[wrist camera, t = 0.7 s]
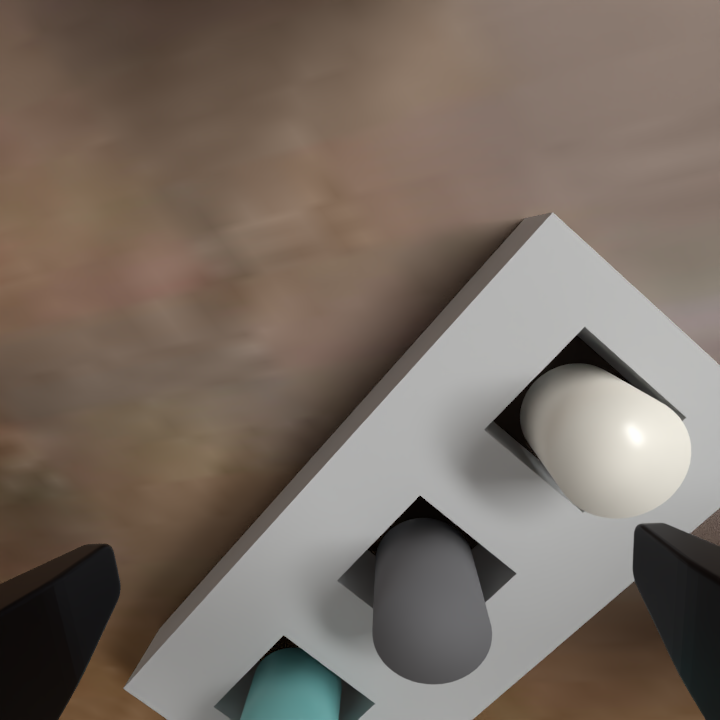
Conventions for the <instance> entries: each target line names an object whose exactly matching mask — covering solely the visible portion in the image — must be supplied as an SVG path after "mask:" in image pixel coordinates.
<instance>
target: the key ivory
mask: <svg viewBox="0 0 720 720" xmlns="http://www.w3.org/2000/svg"><path fill="white" fill-rule="evenodd" d="M520 424H521V429H522V432H523V435H524V437H525V439H526V440H527V442H528V444H529V445H530V446H531V448H532V449H533V451H534V452H535V453H536V455H537V456H538V458H539V459H540V461H541V462H542V463H543V465H544V466H545V468H546V469H547V471H548V472H549V473H550V475H551V476H552V478H553V479H554V480H555V482H556V483H557V485H558V486H559V488H560V489H561V490H562V492H563V493H564V494H565V496H566V497H567V498H568V499H569V500H570V501H571V502H572V503H573V504H574V505H576V506H577V507H578V508H580V509H582V510H584V511H585V512H587V513H590V514H593V515H595V516H599V517H604V518H618V519H620V518H629V517H634V516H638V515H641V514H644V513H647V512H649V511H651V510H653V509H655V508H656V507H658V506H660V505H661V504H663V503H664V502H665V501H667V500H668V499H669V498H670V497H671V496H672V495H673V494H674V493H675V492H676V490H677V489H678V488H679V487H680V485H681V484H682V482H683V480H684V479H685V476H686V474H687V472H688V469H689V465H690V460H691V442H690V437H689V434H688V431H687V429H686V427H685V425H684V423H683V422H682V420H681V419H680V417H679V416H678V415H677V414H676V413H675V412H674V411H673V410H672V409H670V408H669V407H668V406H666V405H665V404H663V403H661V402H660V401H658V400H656V399H654V398H653V397H651V396H649V395H647V394H646V393H644V392H642V391H640V390H639V389H637V388H635V387H633V386H632V385H630V384H628V383H626V382H625V381H623V380H621V379H619V378H618V377H616V376H614V375H612V374H611V373H609V372H607V371H605V370H604V369H602V368H599V367H597V366H594V365H590V364H583V363H573V364H566V365H562V366H559V367H556V368H554V369H552V370H550V371H548V372H546V373H545V374H543V375H542V376H540V377H539V378H538V379H537V380H536V381H535V382H534V383H533V384H532V385H531V387H530V388H529V390H528V391H527V393H526V395H525V397H524V399H523V402H522V405H521V410H520Z"/></svg>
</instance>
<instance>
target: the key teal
mask: <svg viewBox="0 0 720 720" xmlns="http://www.w3.org/2000/svg"><path fill="white" fill-rule="evenodd" d="M341 693H342V683H341V679H340V677H339V676H338V675H336V674H335V673H334V672H332V671H331V670H329V669H328V668H327V667H325V666H324V665H323V664H321V663H320V662H319V661H317V660H316V659H315V658H313V657H312V656H311V655H309V654H308V653H307V652H305V651H304V650H303V649H301V648H285V649H280V650H277V651H275V652H273V653H271V654H269V655H268V656H266V657H265V658H264V659H263V660H262V661H261V662H260V663H259V665H258V667H257V669H256V671H255V674H254V677H253V680H252V684H251V687H250V690H249V693H248V696H247V699H246V702H245V706H244V709H243V712H242V715H241V718H240V720H339V711H340V702H341Z"/></svg>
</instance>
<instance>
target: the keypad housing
mask: <svg viewBox="0 0 720 720" xmlns="http://www.w3.org/2000/svg"><path fill="white" fill-rule="evenodd" d="M576 335H577V336H578V337H579V338H581V339H582V340H583V341H584V342H585V343H586V344H587V345H588V346H590V347H591V348H592V349H593V350H594V351H595V352H596V353H597V354H599V355H600V356H601V357H602V358H603V359H604V360H605V361H606V362H608V363H609V364H610V365H611V366H612V367H613V368H614V369H615V370H617V371H618V372H619V373H620V374H621V375H622V376H623V377H624V378H626V379H627V380H628V381H629V382H630V383H631V384H632V385H633V386H635V387H636V388H637V389H639V390H640V391H642V392H644V393H646V394H647V395H649V396H651V397H653V398H654V399H656V400H658V401H660V402H661V403H663V404H665V405H666V406H668V407H669V408H670V409H672V410H673V411H674V412H675V413H676V414H677V415H678V416H679V417H680V419H681V420H682V422H683V423H684V425H685V427H686V429H687V431H688V434H689V437H690V442H691V460H690V465H689V469H688V472H687V474H686V476H685V479H684V480H683V482H682V484H681V485H680V487H679V488H678V489H677V490H676V492H675V493H674V494H673V495H672V496H671V497H670V498H669V499H668V500H667V501H665V502H664V503H663V504H661V505H660V506H658V507H656V508H655V509H653V510H651V511H649V512H647V513H644V514H641V515H638V516H634V517H629V518H620V519H618V518H604V517H599V516H595V515H593V514H590V513H587V512H585V511H584V510H582V509H580V508H578V507H577V506H576V505H574V504H573V503H572V502H571V501H570V500H569V499H568V498H567V497H566V496H565V494H564V493H563V492H562V490H561V489H560V488H559V486H558V485H557V483H556V482H555V480H554V479H553V478H552V476H551V475H550V473H549V472H548V471H547V469H546V468H545V466H544V465H543V463H542V462H541V461H540V460H538V459H537V458H536V457H535V456H534V455H533V454H531V453H530V452H529V451H528V450H527V449H525V448H524V447H523V446H522V445H521V444H520V443H518V442H517V441H516V440H515V439H514V438H512V437H511V436H510V435H509V434H508V433H506V432H505V431H504V430H503V429H502V428H501V427H499V426H498V425H497V424H496V423H495V422H493V420H494V419H495V418H496V417H497V416H498V415H499V414H500V413H501V412H502V411H503V410H504V409H505V408H506V407H507V406H508V405H509V404H510V403H511V402H512V401H513V400H514V399H515V398H516V397H517V396H518V394H519V393H520V392H521V391H522V390H523V389H524V388H525V387H526V386H527V385H528V384H529V383H530V382H531V381H532V380H533V379H534V378H535V377H536V376H537V375H538V374H539V373H540V372H541V371H542V370H543V369H544V368H545V367H546V366H547V365H548V364H549V363H550V362H551V361H552V360H553V359H554V358H555V357H556V356H557V355H558V354H559V353H560V351H561V350H562V349H563V348H564V347H565V346H566V345H567V344H568V343H569V342H570V341H571V340H572V339H573V338H574V337H575V336H576ZM419 496H421V497H423V498H424V499H425V500H426V501H428V502H429V503H430V504H431V505H433V506H434V507H435V508H436V509H438V510H439V511H440V512H441V513H443V514H444V515H445V516H446V517H447V518H449V519H450V520H451V521H452V522H454V523H455V524H456V525H457V526H459V527H460V528H461V529H462V530H464V531H465V532H466V533H467V534H468V535H470V536H471V537H472V538H473V539H475V540H476V541H477V542H478V544H477V545H476V546H475V547H474V548H473V549H472V550H471V552H472V556H473V559H474V563H475V567H476V571H477V574H478V578H479V582H480V586H481V589H482V593H483V597H484V601H485V604H486V608H487V612H488V616H489V619H490V623H491V627H492V642H491V647H490V649H489V652H488V654H487V656H486V658H485V659H484V661H483V662H482V663H481V665H480V666H479V667H478V668H477V669H476V670H474V671H473V672H472V673H470V674H469V675H467V676H465V677H464V678H461V679H459V680H457V681H453V682H450V683H445V684H422V683H417V682H413V681H410V680H408V679H405V678H403V677H401V676H399V675H398V674H396V673H395V672H393V671H392V670H391V669H390V668H388V667H387V666H386V665H385V663H384V662H383V661H382V660H381V658H380V657H379V655H378V653H377V651H376V649H375V646H374V643H373V637H372V626H373V604H374V582H375V561H376V556H375V555H374V554H372V553H371V552H370V551H368V550H367V549H368V548H369V547H370V546H371V545H372V544H373V543H374V542H375V541H376V540H377V539H378V538H379V537H380V536H381V535H382V534H383V533H384V532H385V531H386V530H387V529H388V528H389V527H390V526H391V525H392V524H393V523H394V521H395V520H396V519H397V518H398V517H399V516H400V515H401V514H402V513H403V512H404V511H405V510H406V509H407V508H408V507H409V506H410V505H411V504H412V503H413V502H414V501H415V500H416V499H417V498H418V497H419ZM719 508H720V365H719V364H718V363H717V362H716V361H714V360H713V359H712V358H711V357H710V356H709V355H708V354H707V353H706V352H705V351H704V350H702V349H701V348H700V347H699V346H698V345H697V344H696V343H695V342H694V341H693V340H692V339H690V338H689V337H688V336H687V335H686V334H685V333H684V332H683V331H682V330H681V329H680V328H678V327H677V326H676V325H675V324H674V323H673V322H672V321H671V320H670V319H669V318H668V317H666V316H665V315H664V314H663V313H662V312H661V311H660V310H659V309H658V308H657V307H656V306H654V305H653V304H652V303H651V302H650V301H649V300H648V299H647V298H646V297H645V296H644V295H642V294H641V293H640V292H639V291H638V290H637V289H636V288H635V287H634V286H633V285H632V284H630V283H629V282H628V281H627V280H626V279H625V278H624V277H623V276H622V275H621V274H620V273H618V272H617V271H616V270H615V269H614V268H613V267H612V266H611V265H610V264H609V263H608V262H606V261H605V260H604V259H603V258H602V257H601V256H600V255H599V254H598V253H597V252H596V251H594V250H593V249H592V248H591V247H590V246H589V245H588V244H587V243H586V242H585V241H584V240H582V239H581V238H580V237H579V236H578V235H577V234H576V233H575V232H574V231H573V230H572V229H570V228H569V227H568V226H567V225H566V224H565V223H564V222H563V221H562V220H561V219H560V218H558V217H557V216H556V215H555V214H554V213H553V212H552V213H547V214H543V215H538V216H533V217H529V218H524V220H523V221H522V222H521V223H520V224H519V225H518V226H517V227H516V229H515V230H514V231H513V232H512V233H511V234H510V235H509V236H508V238H507V239H506V240H505V241H504V242H503V243H502V244H501V245H500V247H499V248H498V249H497V250H496V251H495V252H494V253H493V254H492V256H491V257H490V258H489V259H488V260H487V261H486V262H485V263H484V265H483V266H482V267H481V268H480V269H479V270H478V271H477V272H476V274H475V275H474V276H473V277H472V278H471V279H470V280H469V281H468V283H467V284H466V285H465V286H464V287H463V288H462V289H461V290H460V292H459V293H458V294H457V295H456V296H455V297H454V298H453V299H452V301H451V302H450V303H449V304H448V305H447V306H446V307H445V308H444V310H443V311H442V312H441V313H440V314H439V315H438V316H437V317H436V319H435V320H434V321H433V322H432V323H431V324H430V325H429V326H428V327H427V329H426V330H425V331H424V332H423V333H422V334H421V335H420V336H419V338H418V339H417V340H416V341H415V342H414V343H413V344H412V345H411V347H410V348H409V349H408V350H407V351H406V352H405V353H404V354H403V356H402V357H401V358H400V359H399V360H398V361H397V362H396V363H395V365H394V366H393V367H392V368H391V369H390V370H389V371H388V372H387V374H386V375H385V376H384V377H383V378H382V379H381V380H380V381H379V383H378V384H377V385H376V386H375V387H374V388H373V389H372V390H371V392H370V393H369V394H368V395H367V396H366V397H365V398H364V399H363V401H362V402H361V403H360V404H359V405H358V406H357V407H356V408H355V410H354V411H353V412H352V413H351V414H350V415H349V416H348V417H347V419H346V420H345V421H344V422H343V423H342V424H341V425H340V426H339V428H338V429H337V430H336V431H335V432H334V433H333V434H332V435H331V437H330V438H329V439H328V440H327V441H326V442H325V443H324V444H323V445H322V447H321V448H320V449H319V450H318V451H317V452H316V453H315V454H314V456H313V457H312V458H311V459H310V460H309V461H308V462H307V463H306V465H305V466H304V467H303V468H302V469H301V470H300V471H299V472H298V474H297V475H296V476H295V477H294V478H293V479H292V480H291V481H290V483H289V484H288V485H287V486H286V487H285V488H284V489H283V490H282V492H281V493H280V494H279V495H278V496H277V497H276V498H275V499H274V501H273V502H272V503H271V504H270V505H269V506H268V507H267V508H266V510H265V511H264V512H263V513H262V514H261V515H260V516H259V517H258V519H257V520H256V521H255V522H254V523H253V524H252V525H251V526H250V528H249V529H248V530H247V531H246V532H245V533H244V534H243V535H242V537H241V538H240V539H239V540H238V541H237V542H236V543H235V544H234V546H233V547H232V548H231V549H230V550H229V551H228V552H227V553H226V554H225V556H224V557H223V558H222V559H221V560H220V561H219V562H218V563H217V565H216V566H215V567H214V568H213V569H212V570H211V571H210V572H209V574H208V575H207V576H206V577H205V578H204V579H203V580H202V581H201V583H200V584H199V585H198V586H197V587H196V588H195V589H194V590H193V592H192V593H191V594H190V595H189V596H188V597H187V598H186V599H185V601H184V602H183V603H182V604H181V605H180V606H179V607H178V608H177V610H176V611H175V612H174V613H173V614H172V615H171V616H170V617H169V619H168V620H167V621H166V622H165V623H164V624H163V625H162V626H161V628H160V629H159V630H158V632H157V634H156V635H155V637H154V639H153V640H152V642H151V644H150V645H149V647H148V649H147V650H146V652H145V654H144V655H143V657H142V658H141V660H140V662H139V663H138V665H137V667H136V668H135V670H134V672H133V673H132V675H131V677H130V678H129V680H128V682H127V683H126V685H125V687H124V688H123V689H125V690H126V691H128V692H129V693H130V694H132V695H133V696H135V697H136V698H137V699H139V700H140V701H142V702H143V703H145V704H146V705H147V706H149V707H150V708H152V709H153V710H155V711H156V712H157V713H159V714H160V715H162V716H163V717H164V718H166V719H167V720H240V718H241V715H242V712H243V709H244V706H245V702H246V699H247V696H248V693H249V690H250V687H251V684H252V680H253V677H254V674H255V671H256V669H257V667H258V665H259V663H260V662H261V661H260V659H261V658H262V657H263V656H264V655H265V654H266V653H267V652H268V651H269V649H270V648H271V647H272V646H273V645H274V644H275V643H276V642H277V641H278V640H279V639H280V638H281V637H282V636H283V635H284V636H285V637H287V638H288V639H289V640H291V641H292V642H293V643H295V644H296V645H297V646H299V647H300V648H301V649H303V650H304V651H305V652H307V653H308V654H309V655H311V656H312V657H313V658H315V659H316V660H317V661H319V662H320V663H321V664H323V665H324V666H325V667H327V668H328V669H329V670H331V671H332V672H334V673H335V674H336V675H338V676H339V677H340V679H341V683H342V693H341V702H340V711H339V720H472V719H474V718H475V717H476V716H477V715H478V714H479V713H481V712H482V711H483V710H484V709H485V708H486V707H488V706H489V705H490V704H491V703H492V702H493V701H495V700H496V699H497V698H498V697H499V696H500V695H502V694H503V693H504V692H505V691H506V690H508V689H509V688H510V687H511V686H512V685H513V684H515V683H516V682H517V681H518V680H519V679H520V678H522V677H523V676H524V675H525V674H526V673H527V672H529V671H530V670H531V669H532V668H533V667H534V666H536V665H537V664H538V663H539V662H540V661H541V660H543V659H544V658H545V657H546V656H547V655H548V654H550V653H551V652H552V651H553V650H554V649H555V648H557V647H558V646H559V645H560V644H561V643H562V642H564V641H565V640H566V639H567V638H568V637H569V636H571V635H572V634H573V633H574V632H575V631H576V630H578V629H579V628H580V627H581V626H582V625H583V624H585V623H586V622H587V621H588V620H589V619H590V618H592V617H593V616H594V615H595V614H596V613H597V612H599V611H600V610H601V609H602V608H603V607H604V606H606V605H607V604H608V603H609V602H610V601H612V600H613V599H614V598H615V597H616V596H617V595H619V594H620V593H621V592H622V591H623V590H624V589H626V588H627V587H628V586H629V585H630V584H631V583H633V582H634V581H635V580H634V576H633V543H634V530H635V527H636V526H637V525H638V524H641V523H665V524H668V525H670V526H673V527H675V528H677V529H680V530H682V531H685V532H687V533H689V534H690V533H691V532H692V531H693V530H694V529H696V528H697V527H698V526H699V525H700V524H701V523H703V522H704V521H705V520H706V519H707V518H708V517H710V516H711V515H712V514H713V513H714V512H716V511H717V510H718V509H719Z"/></svg>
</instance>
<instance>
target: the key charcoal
mask: <svg viewBox="0 0 720 720" xmlns="http://www.w3.org/2000/svg"><path fill="white" fill-rule="evenodd" d="M372 637H373V643H374V646H375V649H376V651H377V653H378V655H379V657H380V658H381V660H382V661H383V662H384V663H385V665H386V666H387V667H388V668H390V669H391V670H392V671H393V672H395V673H396V674H398V675H399V676H401V677H403V678H405V679H408V680H410V681H413V682H417V683H422V684H445V683H450V682H453V681H457V680H459V679H461V678H464V677H465V676H467V675H469V674H470V673H472V672H473V671H474V670H476V669H477V668H478V667H479V666H480V665H481V663H482V662H483V661H484V659H485V658H486V656H487V654H488V652H489V649H490V647H491V642H492V627H491V623H490V619H489V616H488V612H487V608H486V604H485V601H484V597H483V593H482V589H481V586H480V582H479V578H478V574H477V571H476V567H475V563H474V559H473V556H472V552H471V548H470V546H469V544H468V542H467V540H466V539H465V537H464V536H463V535H462V534H461V533H460V532H459V531H458V530H457V529H456V528H454V527H453V526H451V525H449V524H448V523H446V522H443V521H440V520H437V519H431V518H415V519H411V520H407V521H404V522H402V523H400V524H398V525H396V526H395V527H393V528H392V529H390V530H389V531H388V532H387V533H386V534H385V536H384V537H383V538H382V540H381V541H380V543H379V546H378V548H377V552H376V561H375V582H374V604H373V626H372Z"/></svg>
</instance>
